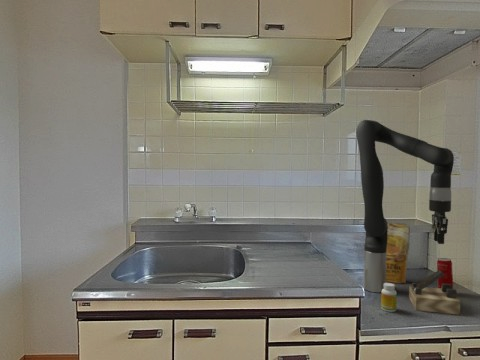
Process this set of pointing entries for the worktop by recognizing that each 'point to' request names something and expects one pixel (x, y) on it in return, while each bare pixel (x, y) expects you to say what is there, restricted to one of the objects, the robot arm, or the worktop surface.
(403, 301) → the worktop surface
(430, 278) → the bar
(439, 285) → the beverage can
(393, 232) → the pancake mix bag
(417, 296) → the oak box
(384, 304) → the supplement bottle
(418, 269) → the worktop surface
